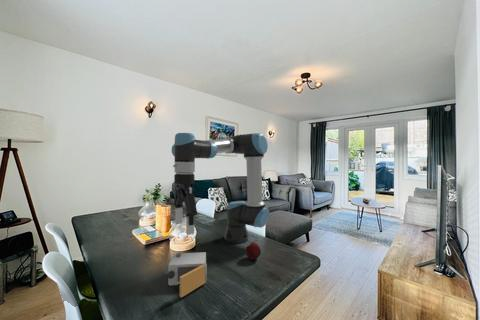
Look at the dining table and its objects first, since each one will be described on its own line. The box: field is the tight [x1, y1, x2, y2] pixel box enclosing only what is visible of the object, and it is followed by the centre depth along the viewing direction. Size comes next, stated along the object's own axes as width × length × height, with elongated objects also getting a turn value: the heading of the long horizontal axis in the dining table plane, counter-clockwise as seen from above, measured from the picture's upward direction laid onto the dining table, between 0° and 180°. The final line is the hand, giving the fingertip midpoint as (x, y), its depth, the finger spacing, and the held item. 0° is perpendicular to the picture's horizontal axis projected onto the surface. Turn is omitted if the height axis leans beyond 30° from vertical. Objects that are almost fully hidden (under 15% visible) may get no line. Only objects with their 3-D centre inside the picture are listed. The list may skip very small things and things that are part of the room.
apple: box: [245, 241, 262, 261], centre depth 103 cm, size 7×8×8 cm
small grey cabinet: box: [167, 251, 207, 286], centre depth 86 cm, size 14×11×9 cm
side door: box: [179, 263, 208, 298], centre depth 77 cm, size 12×1×7 cm, turn 141°
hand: (184, 228), depth 79 cm, fingers open, 13 cm apart
